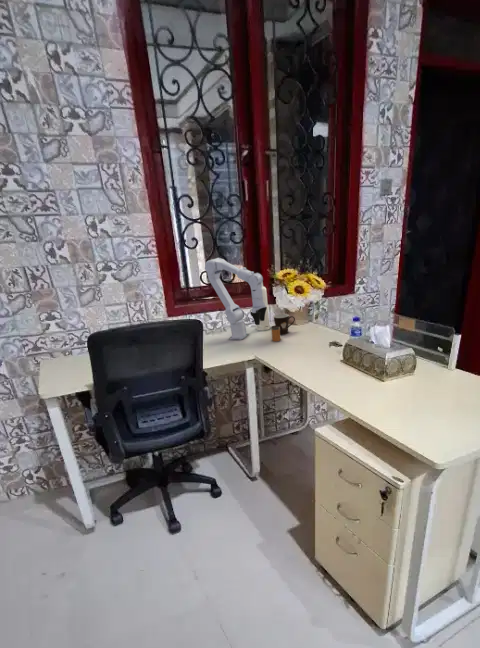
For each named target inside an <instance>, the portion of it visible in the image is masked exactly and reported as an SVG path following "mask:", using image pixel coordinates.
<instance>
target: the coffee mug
mask: <svg viewBox="0 0 480 648" xmlns="http://www.w3.org/2000/svg"><path fill="white" fill-rule="evenodd" d="M290 318H293V321H292V322H291V323H290V324H289V321H290ZM273 321H274V326H275V325H277V326H280V336H284V335H288V333H289V328H290V327H291V326H292V325H293V324H294V323H295V322H296V320H295V316H293V315H289V314H287V313H277V314H274V315H273Z"/></svg>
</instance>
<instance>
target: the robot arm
mask: <svg viewBox="0 0 480 648" xmlns="http://www.w3.org/2000/svg"><path fill="white" fill-rule="evenodd" d="M204 270H205V272H206V274H207V278H208V281H209V283H210V284H211V286H212V288H213V289H214V291H215V293H216V295H217V296H218V298H219V300H220V302H221V303H222V304H223V306H224V308H225V311H224V314H225V316H226V320H227V321H228V322H229V325H230V333H231V337H229V340H241V341H242V340H243V339H245V338H246V337H247V336H248V335H249V333H247V325H246V322H245V320H244V318H245V311H244V310H243V309H242V308H241V307H240V305H238V304H236V303H235V301H234V300H233V299H232V297H231V295H230V294H229V292H228V290H227V288H226V287H225V284H224V283H223V281H222V280H221V278H220V276H221V273H222V272H223V270H224V271H226V272H229V273H232V274H233V275H236V276H237V278H238V279H240V280H242V281H243V282H246V283H248V285H249V287H250V291H251V301H252V308H251V311H250V312H249V314H250V316H251V318H252V319H253V322H254V325H255V326H256V325H259V324H260V321H264V319H265V312H266V309H267V307H266V305H265V303H263V295H262V285H261V283H262V282H263V281H264V277H263V275H262V274H261V273H260V272H255V271H251V270H249V269H247V267H245V266H244V267H240V268H239V267H237V266H235V265H234V264H232V263H230V262H228V261H226V260H225V259H224V258H221V257H216V258H212V259H209V260H207V261H206V262H205V266H204ZM263 283H264V282H263Z"/></svg>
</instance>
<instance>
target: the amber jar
mask: <svg viewBox="0 0 480 648" xmlns="http://www.w3.org/2000/svg"><path fill="white" fill-rule="evenodd" d="M270 329H271V342H276V343H277V342H280V341H281V340H282V339H281V335H280V326H277V325H275V324H274V325H271V326H270Z"/></svg>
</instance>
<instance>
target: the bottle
mask: <svg viewBox="0 0 480 648" xmlns="http://www.w3.org/2000/svg"><path fill="white" fill-rule="evenodd" d="M261 285H262V295H263V303H265V305H266V307H267V309H266V312H265V319H264V321H260V324H259V325H255V327H256V331H268V330H270V329H271V326H270V314H269V303H268V293H267V291H268V290H267V288H266V286H264V282H262V283H261Z"/></svg>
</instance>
